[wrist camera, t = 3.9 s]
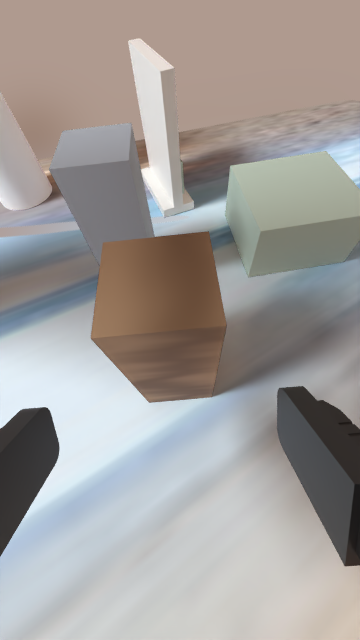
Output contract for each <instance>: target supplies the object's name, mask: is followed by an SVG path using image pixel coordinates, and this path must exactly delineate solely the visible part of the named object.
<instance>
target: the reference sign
mask: <svg viewBox="0 0 360 640" xmlns="http://www.w3.org/2000/svg"><path fill="white" fill-rule="evenodd" d="M128 43H129V49H130V55H131V61H132V67H133V72H134V78H135V84H136V90H137V96H138V102H139V107H140V113H141V118H142V125H143V130H144V137H145V142H146V148H147V154H148V160H149V166H150V167H148V168H144V169H141V173H142V177H143V180H144V182H145V184H146V185H147V187H148V189H149V191H150V193H151V194H152V196H153V198H154V200H155V202H156V204H157V205H158V207H159V209H160V211H161V213H162V215H163V216H164V218H165V217H169V216H172V215H175V214H178V213H181V212H185V211H188V210H191V209H194V201H193V200H192V198H191V197H190V195H189V194H188V192H187V191H186V189H185V188H184V177H183V162H182V161H181V159H180V147H179V132H178V116H177V101H176V85H175V70H174V67H173V66H171V65H170V64H169V63H168V62H167V61H166V60H164V59H163V58H162V57H161V56H160V55H159V54H157V53H156V52H155V51H154V50H153V49H152V48H150V47H149V46H148V45H147V44H146V43H145V42H143V41H142V40H141V39H134V40H130V41H128Z"/></svg>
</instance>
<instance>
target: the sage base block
mask: <svg viewBox="0 0 360 640" xmlns="http://www.w3.org/2000/svg"><path fill="white" fill-rule="evenodd" d="M225 216H226V219H227V221H228V224H229V227H230V230H231V232H232V235H233V238H234V240H235V243H236V246H237V249H238V251H239V254H240V257H241V259H242V262H243V265H244V267H245V270H246V273H247V276H248V277H253V276H260V275H266V274H272V273H278V272H285V271H291V270H297V269H303V268H310V267H316V266H322V265H328V264H335V263H341V262H344V261H345V260H346V258H347V257H348V256H349V254H350V253H351V252H352V250H353V249H354V247H355V246H356V245H357V243H358V242H359V241H360V189H359V188H358V187H357V186H356V185H355V183H354V182H353V181H352V180H351V179H350V178H349V177H348V175H347V174H346V173H345V172H344V171H343V170H342V169H341V167H340V166H339V165H338V164H337V163H336V162H335V161H334V159H333V158H332V157H331V156H330V155H329V154H328V153H327V152H326V151H323V152H317V153H310V154H304V155H297V156H290V157H284V158H277V159H271V160H264V161H258V162H251V163H245V164H238V165H231V166H230V174H229V183H228V192H227V202H226V211H225Z"/></svg>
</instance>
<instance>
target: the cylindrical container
mask: <svg viewBox="0 0 360 640" xmlns="http://www.w3.org/2000/svg"><path fill="white" fill-rule="evenodd" d="M51 192H52V186H51V184H50V182H49V180H48V178H47V176H46V175H45V173H44V171H43V169H42V167H41V165H40V164H39V162H38V160H37V158H36V156H35V154H34V153H33V151H32V149H31V147H30V145H29V143H28V142H27V140H26V138H25V136H24V134H23V132H22V130H21V129H20V127H19V125H18V123H17V121H16V119H15V118H14V116H13V114H12V112H11V110H10V108H9V107H8V105H7V103H6V101H5V99H4V97H3V96H2V94H1V92H0V201H1V203H2V204H3V205H4V206H5V207H6V208H8V209H10V210H25V209H29V208H32V207H35V206H37V205H39V204H41V203H42V202H44V201H45V200H46V199H47V198H48V197H49V196H50V194H51Z"/></svg>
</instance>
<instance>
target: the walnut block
mask: <svg viewBox="0 0 360 640" xmlns="http://www.w3.org/2000/svg"><path fill="white" fill-rule="evenodd" d="M226 326H227V325H226V320H225V314H224V309H223V304H222V299H221V293H220V288H219V283H218V277H217V272H216V267H215V261H214V256H213V251H212V246H211V240H210V235H209V231H208V232H199V233H189V234H180V235H170V236H161V237H151V238H142V239H132V240H123V241H113V242H104V243H103V245H102V253H101V261H100V269H99V277H98V285H97V293H96V301H95V309H94V317H93V325H92V333H91V339H92V340H93V341H94V343H95V344H96V345H97V346H98V347H99V348H100V349H101V350H102V351H103V352H104V354H105V355H106V356H107V357H108V358H109V359H110V360H111V361H112V362H113V363H114V364H115V366H116V367H117V368H118V369H119V370H120V371H121V372H122V373H123V374H124V375H125V377H126V378H127V379H128V380H129V381H130V382H131V383H132V384H133V385H134V386H135V387H136V389H137V390H138V391H139V392H140V393H141V394H142V395H143V396H144V397H145V398H146V400H147V401H148V402H149V403H151V402H162V401H174V400H185V399H197V398H208V397H212V394H213V389H214V385H215V380H216V375H217V370H218V365H219V360H220V355H221V350H222V346H223V341H224V336H225V331H226Z"/></svg>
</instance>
